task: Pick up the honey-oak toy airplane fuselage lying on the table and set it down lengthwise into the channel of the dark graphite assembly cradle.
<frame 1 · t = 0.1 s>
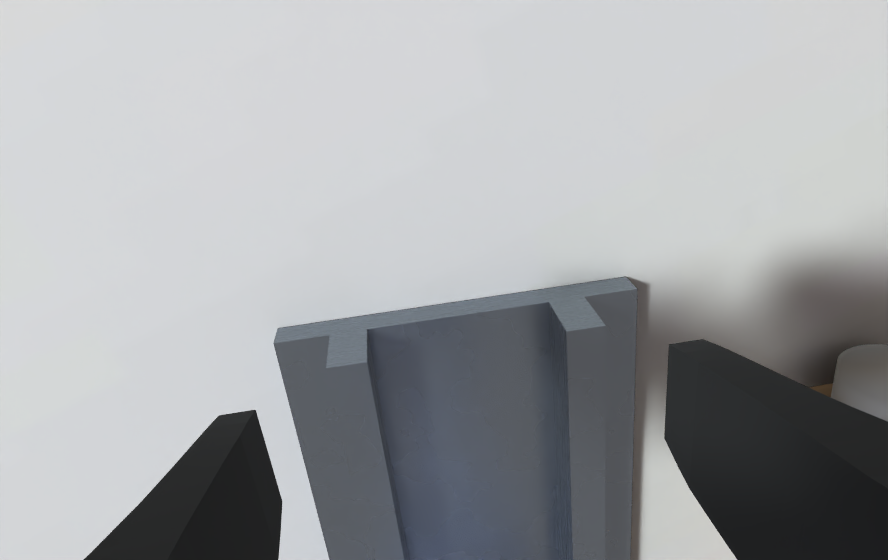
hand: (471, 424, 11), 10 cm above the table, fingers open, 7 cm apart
fuselage: (818, 493, 27), on the table
cradle: (477, 501, 25), on the table
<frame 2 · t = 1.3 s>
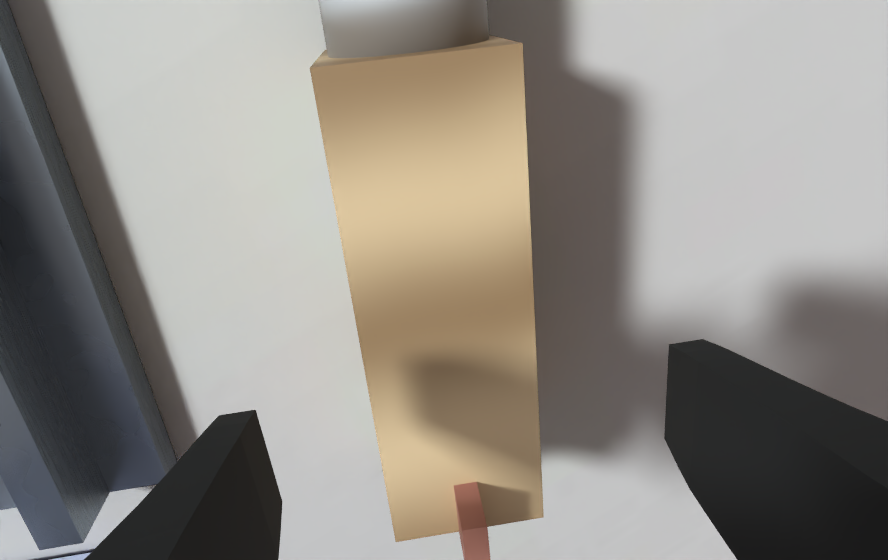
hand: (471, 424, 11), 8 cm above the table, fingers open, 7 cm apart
fuselage: (427, 253, 19), on the table
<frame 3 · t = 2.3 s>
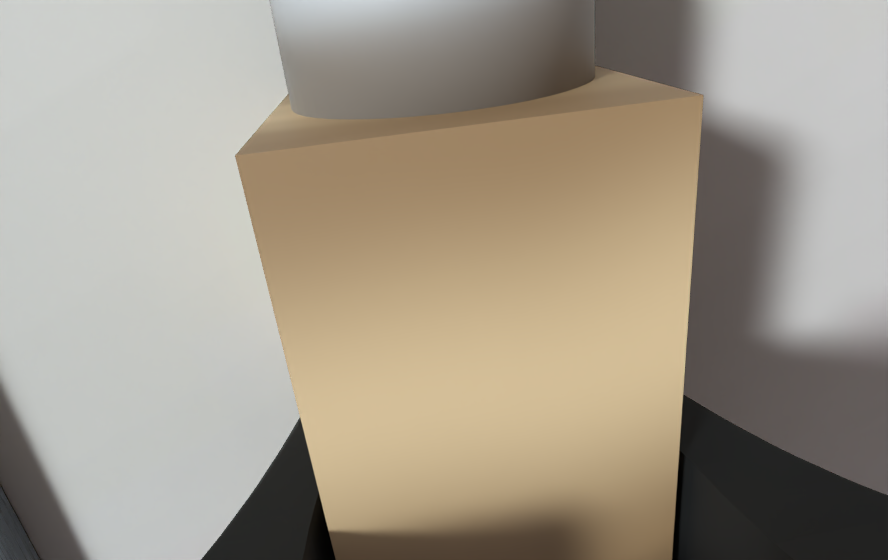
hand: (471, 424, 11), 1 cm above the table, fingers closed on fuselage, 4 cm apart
fuselage: (460, 385, 12), on the table, touching gripper
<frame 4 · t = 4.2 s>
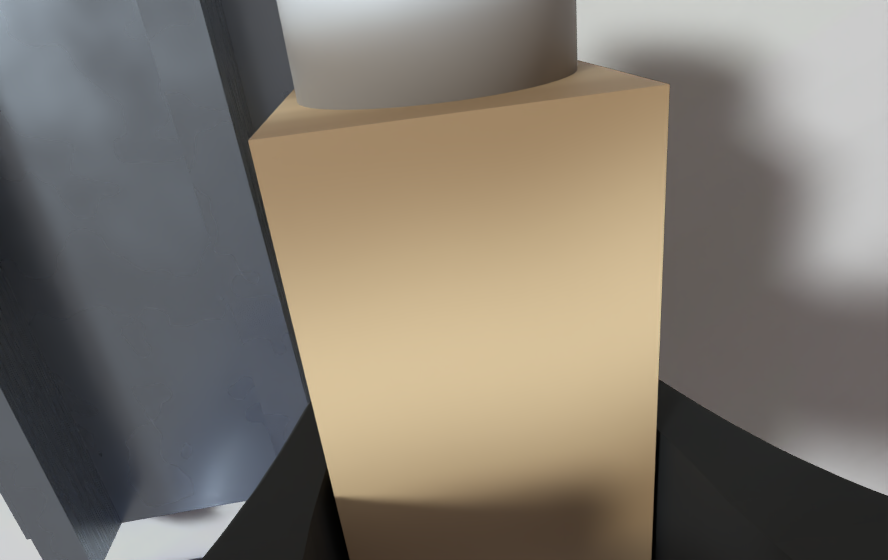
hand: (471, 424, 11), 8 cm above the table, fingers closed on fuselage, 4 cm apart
fuselage: (457, 368, 13), point 6 cm above the table, touching gripper
cradle: (132, 238, 17), on the table
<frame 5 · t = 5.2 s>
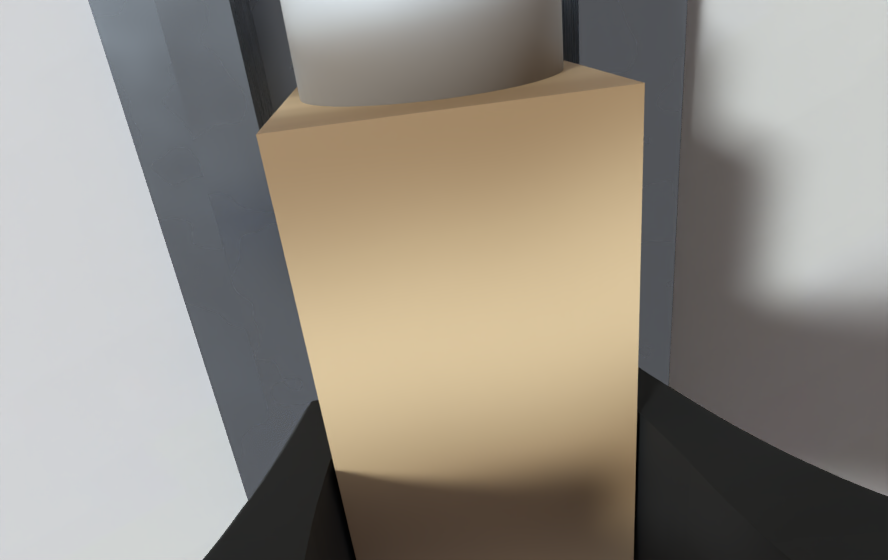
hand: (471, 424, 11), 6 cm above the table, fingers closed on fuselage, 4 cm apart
fuselage: (453, 357, 13), point 3 cm above the table, touching gripper
cradle: (436, 283, 16), on the table
when the fingers open (4 cm above the table, at t = 6.0 s): fuselage stays where it is, resting on cradle.
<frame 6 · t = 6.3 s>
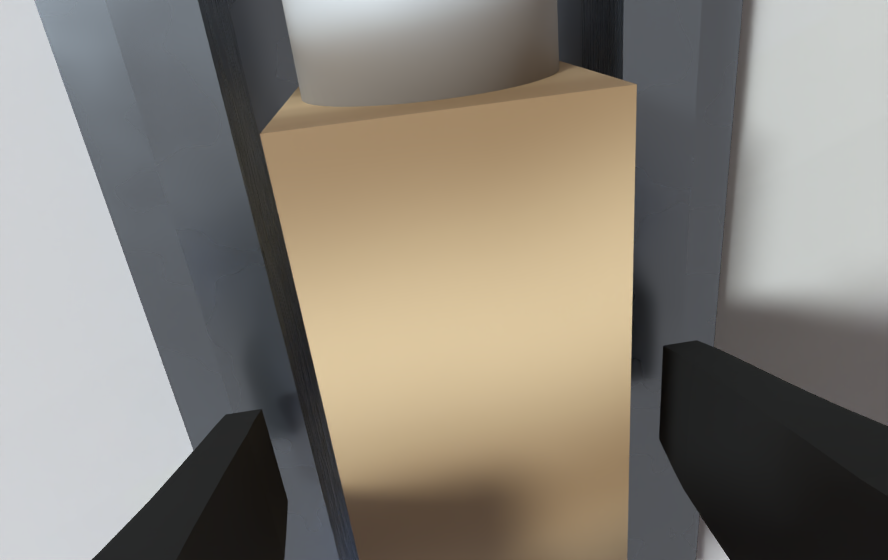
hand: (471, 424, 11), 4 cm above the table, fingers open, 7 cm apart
fuselage: (451, 352, 14), point 1 cm above the table, touching cradle
cradle: (445, 319, 14), on the table
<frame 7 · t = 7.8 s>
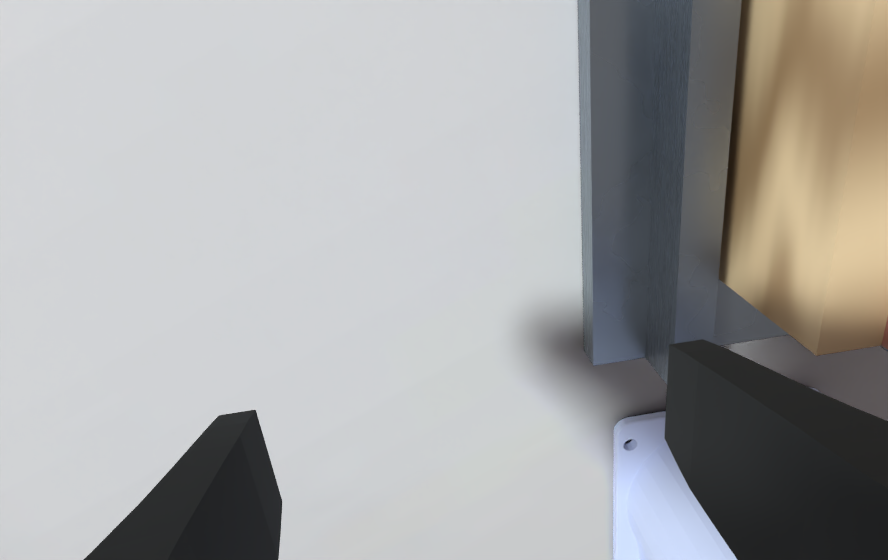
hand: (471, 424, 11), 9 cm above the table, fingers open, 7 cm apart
fuselage: (797, 72, 17), point 1 cm above the table, touching cradle
cradle: (777, 58, 18), on the table
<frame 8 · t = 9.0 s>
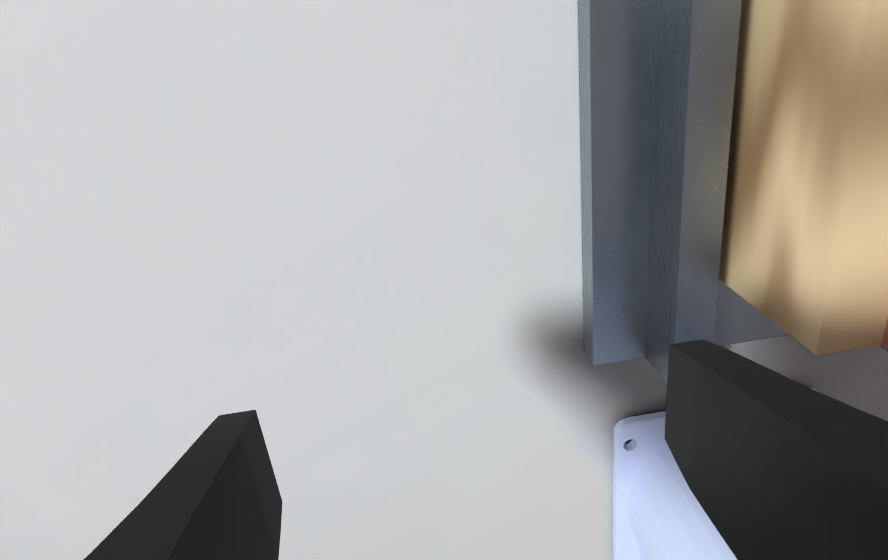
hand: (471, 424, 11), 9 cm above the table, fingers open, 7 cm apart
fuselage: (797, 72, 17), point 1 cm above the table, touching cradle
cradle: (777, 58, 18), on the table
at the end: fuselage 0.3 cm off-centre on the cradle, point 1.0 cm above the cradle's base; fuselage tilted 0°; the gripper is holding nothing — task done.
